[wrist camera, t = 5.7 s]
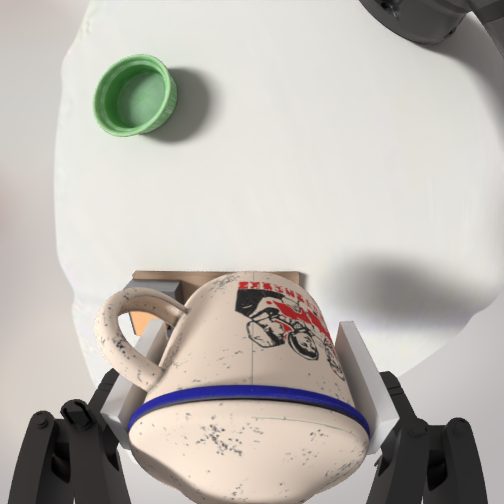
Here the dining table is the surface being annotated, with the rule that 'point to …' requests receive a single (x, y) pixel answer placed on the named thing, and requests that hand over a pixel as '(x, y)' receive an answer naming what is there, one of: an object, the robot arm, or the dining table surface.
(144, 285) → the button housing
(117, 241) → the dining table surface
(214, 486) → the teacup with lid
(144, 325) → the button
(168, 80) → the ramekin
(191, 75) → the dining table surface
